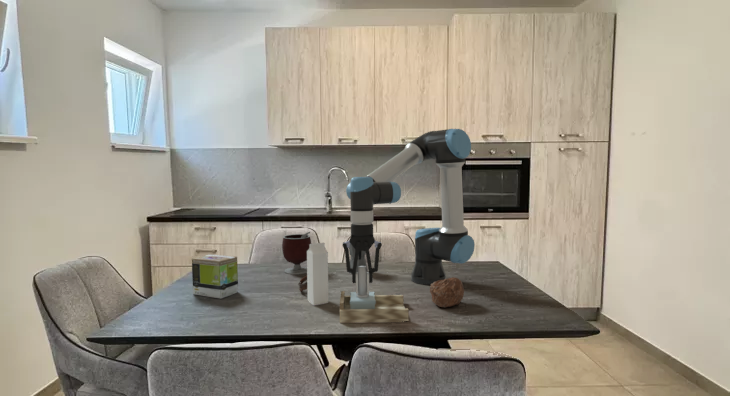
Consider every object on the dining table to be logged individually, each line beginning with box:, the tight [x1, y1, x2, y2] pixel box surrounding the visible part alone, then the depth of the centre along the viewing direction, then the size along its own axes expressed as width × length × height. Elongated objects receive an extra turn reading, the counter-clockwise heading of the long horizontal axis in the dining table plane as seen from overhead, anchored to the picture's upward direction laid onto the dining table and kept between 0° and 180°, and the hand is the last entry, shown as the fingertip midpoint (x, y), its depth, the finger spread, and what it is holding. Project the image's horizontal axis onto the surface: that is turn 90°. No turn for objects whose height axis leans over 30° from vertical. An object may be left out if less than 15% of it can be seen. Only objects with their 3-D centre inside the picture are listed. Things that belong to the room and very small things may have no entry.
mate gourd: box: [281, 231, 312, 276], centre depth 189 cm, size 16×14×20 cm
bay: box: [339, 290, 410, 324], centre depth 134 cm, size 22×18×6 cm
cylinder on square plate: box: [349, 265, 376, 309], centre depth 132 cm, size 8×10×15 cm
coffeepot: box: [348, 244, 368, 275], centre depth 185 cm, size 15×9×18 cm, turn 9°
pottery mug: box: [297, 274, 307, 293], centre depth 158 cm, size 12×10×8 cm
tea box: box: [191, 253, 239, 299], centre depth 156 cm, size 15×10×15 cm, turn 65°
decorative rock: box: [429, 276, 465, 308], centre depth 140 cm, size 13×11×10 cm
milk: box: [306, 242, 329, 306], centre depth 144 cm, size 6×6×22 cm
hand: (362, 292), depth 132 cm, fingers closed on cylinder on square plate, 3 cm apart
